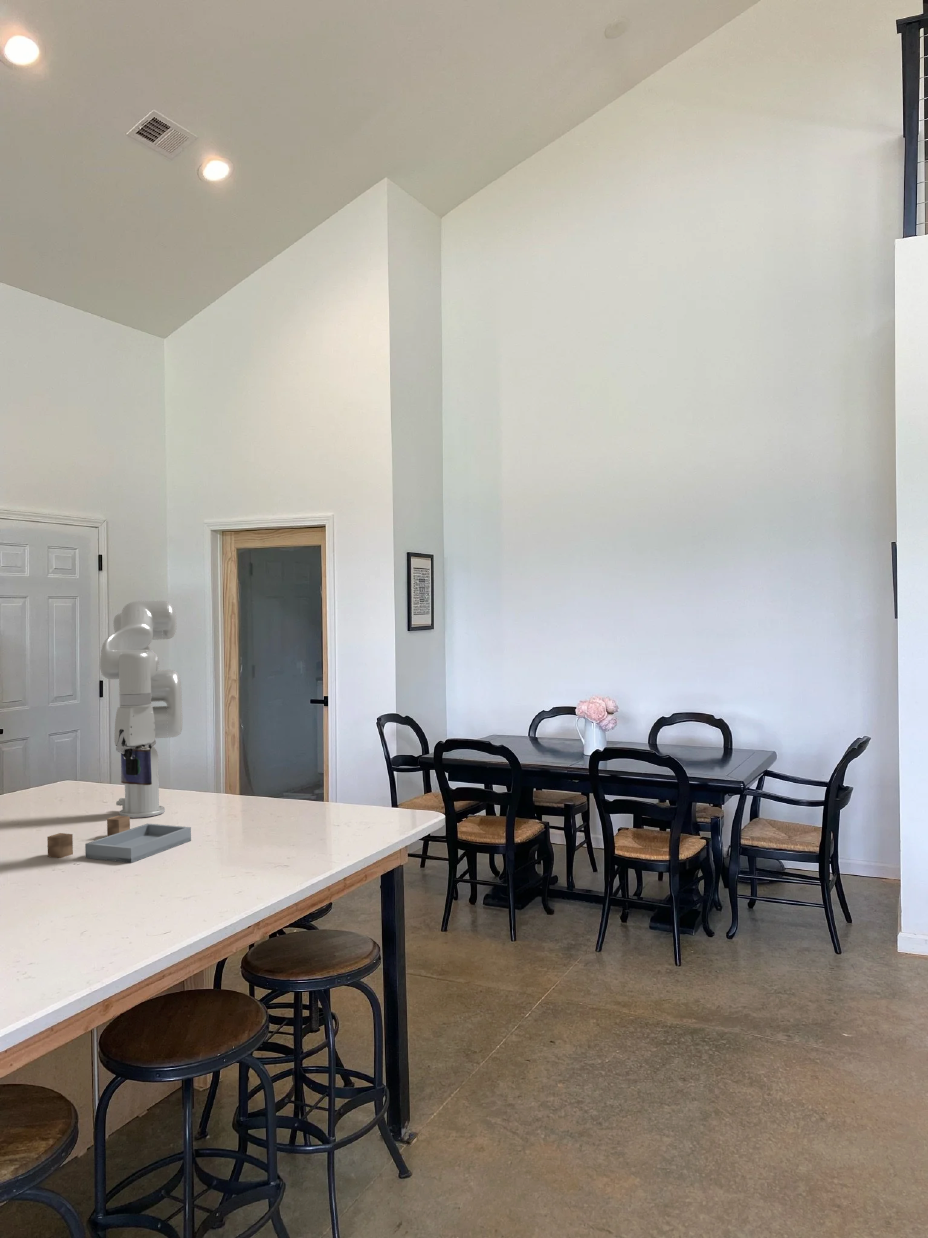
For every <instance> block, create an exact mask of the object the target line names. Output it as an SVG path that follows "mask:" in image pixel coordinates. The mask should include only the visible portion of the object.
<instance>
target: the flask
mask: <svg viewBox="0 0 928 1238" xmlns="http://www.w3.org/2000/svg"><path fill="white" fill-rule="evenodd" d="M141 747H142V746H136V757H135V759H137V764H138V774H137V775H127V774H126V759H124V756H123V755H122V754H121V753H120V775H121V776H120V783H121V784H123V785H125V784H137V785H151V784H152V777H151V749H150V748H147V747H142V748H141ZM129 751H130V752H131V749H129Z"/></svg>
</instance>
